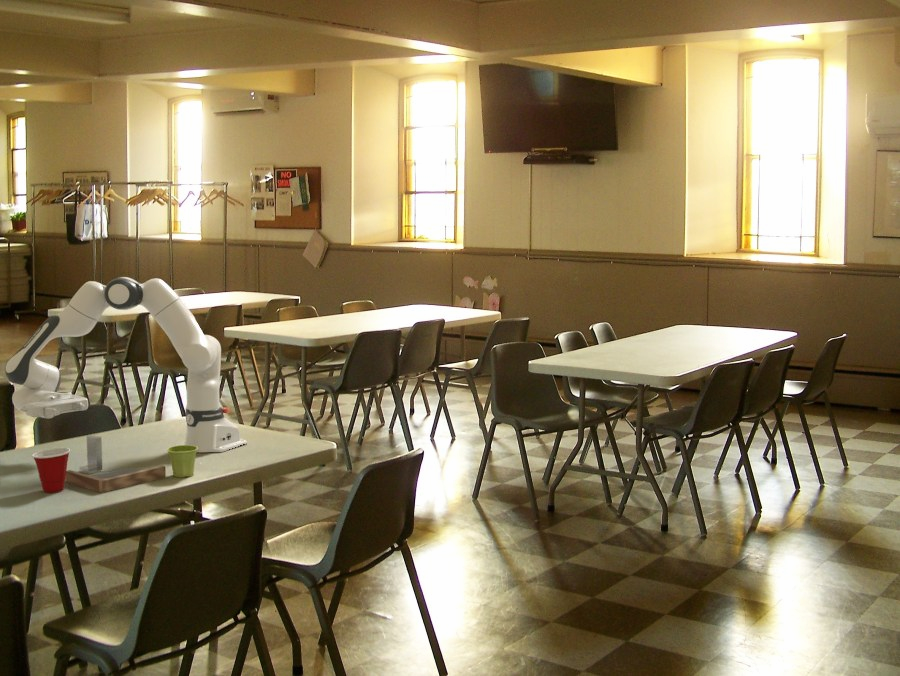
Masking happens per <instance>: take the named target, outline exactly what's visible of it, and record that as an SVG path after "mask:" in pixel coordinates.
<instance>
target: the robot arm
mask: <svg viewBox="0 0 900 676" xmlns="http://www.w3.org/2000/svg"><path fill="white" fill-rule="evenodd" d="M138 306H142V307H144V308H145V309H146V310H147V312H148V313H149V314H150V315H151V316H152V318H153V319H154V320H155V321H156V323H157V324H158V325H159V327H160V328H161V329H162V331H164V333H165V334H166V335H167V337H168V338H169V340H170V343H171V344H172V346H173V348H174V349H175V351H176V352H177V354H178V356H179V357H180V359H181V362H182V363H183V365H184V367H185V368H187V369H188V371H187V382H186V408H185V420H186V433H185V439H184V440H185V441H184V444H183V445H193V446H197V447H198V450H197V452H196V453H223V452H226V451H230V450H232V448H233V449H235V447H236V448H239V447H241V446H240V445H242V446H244V445H243V444H245V445H247V444H248V442H247V440H246V439H244V438H241V434H240V430H239V427H238V426H237V425H236V424H234V423H233V422H231V420H229V419H228V418H226V417H225V415H224V414H226V415H227V414H229V413H230V410H231V409H230V408H229V407H223V408H222V407H221V406H220V405H221V403H220V380H221V379H220V378H221V367H222V366H221V365H222V364H221V361H222V347H221V343H220V341H219V340H218V339H217V338H215V337H214V336H212V335H209V334H204V333H203V330H202V329H201V328H200V325H199V324H198V322H197V320H196V317H195V316H194V314H193V313H192V311H191V310H190V309H189V308H188V306H187V305H186V304H185V303H184V301H183V300H182V299H181V298H180V296H179V295H178V293H176V292H175V290H173V288H172V287H171V286H170V285H169V284H168V283H166V282H165V281H164V280H162V279H161V278H151V279H149V280H146V281H145V282H143V283H141V282H139V281H138V280H137V279H135V278H132V277H128V276H127V277H126V276H121V277H116V278H114V279H111V280H110V281H109V282H108V283H107V284H106V285H105V284H103V283H100V282H98V281H93V280H92V281H91V280H89V281H87V282H85V283H84V284H83V285H82V286H80V288H79V289H78V290H77V292H76V293H75V294H74V295H73V296H72V298H71V299H70V301H69V303H68V304H67V305H66V306H65V308H64V309H62V310H61V311H60V312H59V313H57V314H56V315H51V316H50V317H48V318H46V320H44V322H42V324H41V325H40V326H39V327H38V328H37V329H36V330H35V332H33V334H32V335H31V336H30V337H29V339H27V341H26V342H25V343H24V344H23V346H21V347H20V349H18V351H17V352H15V353H14V354H13V355H12V356H11V357H10V358H8V360H7V361H6V364H5V366H4V372H5V373H4V374H5V376H6V378H7V380H8V382H10V383H13V384H15V385H19V386H21V387H20V388H17V389H15V391H14V392H13V393H12V397H11V400H12V404H13V406H14V408H15V409H17V410H18V411H19V412H20V413H21V412H22V413H24V414H25V415H26V416H28V417H31V418H43V419H52V418H54V417H56V416H59V415H61V414H65V413H72V412H79V411H87V409H88V408H89V400H88V398H87V397H84V396H81V395H77V394H72V392H69V391H62V392H60V391H59V389H60V386H61V382H62V377H61V372H60V370H59V368H58V367H57V366H55V365H53V364H50V363H48V362H45V361H42V360H39V359H36V357H37V356H38V354H39V353H40V352H41V351H42V350H43V349H44V348H45V346H47V345H48V343H49V342H50V341H51V340H54V339H57V338H63V337H68V338H75V337H76V338H78V337H83V336H85V335H87V334H89V333H91V332H92V330H93V329H94V328H95V326H96V325H97V323H98V321H99V320H100V318H101V316H102V315H103V313H104V312H105V311H106V310H107V309H108V308H110V307H111V308H112V309H113V308H114V309H115V310H120V311H121V310H123V311H127V310H131V309H134V308H135V307H138ZM246 443H247V444H246ZM238 446H239V447H238ZM229 449H230V450H229Z"/></svg>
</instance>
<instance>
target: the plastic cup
mask: <svg viewBox="0 0 900 676" xmlns="http://www.w3.org/2000/svg"><path fill="white" fill-rule="evenodd" d="M70 451H71V449H70V448H68V447H55V448H48V449H43V450H39V451H36V452H34V453H32V454H31V457H32V458H33V460H34V461H35V465H36V468H37V473H38V476H39V481H40V483H41V488H42V491H43V493H46V492H47V493H48V494H53V492H56V493H59V491H60V492H62V490H63V491H64V489H65V485H66V484H65V483H66V471H68V469H67V468H68V461H69V454H70Z"/></svg>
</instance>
